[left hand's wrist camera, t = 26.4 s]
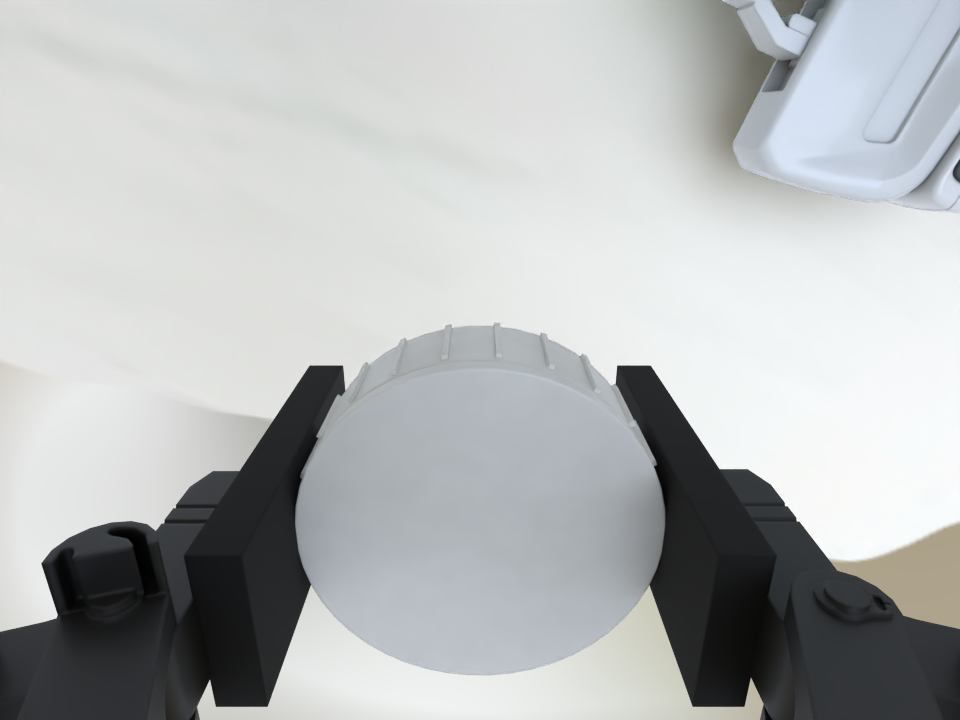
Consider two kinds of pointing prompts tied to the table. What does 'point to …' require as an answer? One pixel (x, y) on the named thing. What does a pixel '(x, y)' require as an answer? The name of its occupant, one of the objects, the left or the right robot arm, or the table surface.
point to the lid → (480, 503)
